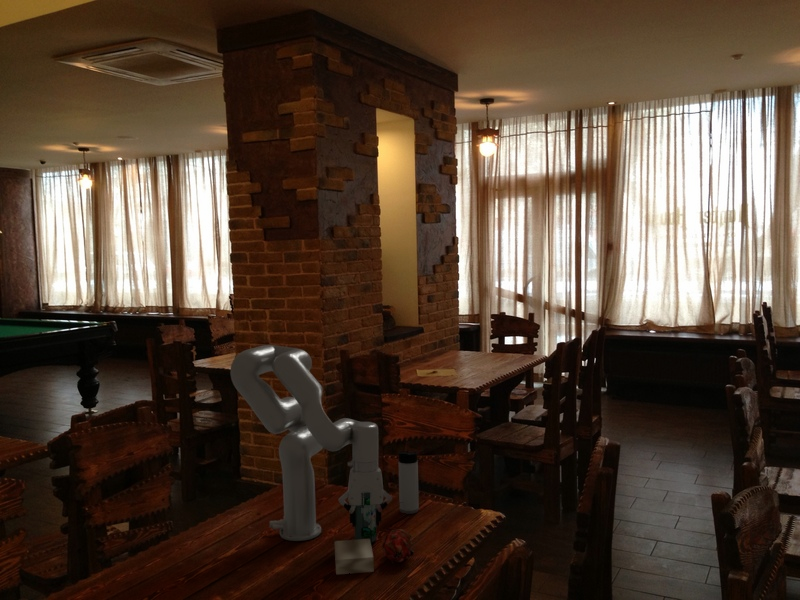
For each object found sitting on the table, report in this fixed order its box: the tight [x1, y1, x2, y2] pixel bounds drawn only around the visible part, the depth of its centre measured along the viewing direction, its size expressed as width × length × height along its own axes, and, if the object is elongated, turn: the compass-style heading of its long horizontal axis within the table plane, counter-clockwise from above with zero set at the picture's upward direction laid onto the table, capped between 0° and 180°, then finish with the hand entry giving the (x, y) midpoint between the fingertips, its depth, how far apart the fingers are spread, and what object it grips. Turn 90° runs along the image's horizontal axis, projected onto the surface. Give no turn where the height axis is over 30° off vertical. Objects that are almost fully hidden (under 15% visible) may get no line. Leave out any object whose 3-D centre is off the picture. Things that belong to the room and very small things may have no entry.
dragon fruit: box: [381, 528, 415, 565], centre depth 193 cm, size 8×8×12 cm
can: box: [354, 493, 377, 543], centre depth 205 cm, size 6×6×15 cm
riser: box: [334, 539, 375, 576], centre depth 192 cm, size 10×12×4 cm
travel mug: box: [398, 450, 420, 515], centre depth 228 cm, size 6×7×20 cm
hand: (365, 523), depth 205 cm, fingers closed on can, 6 cm apart
